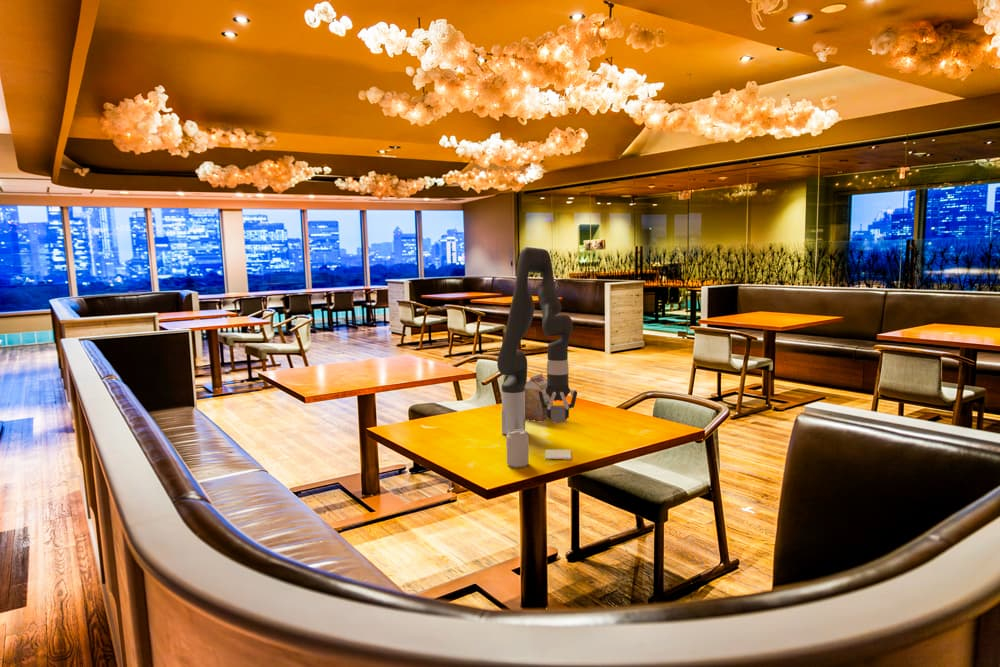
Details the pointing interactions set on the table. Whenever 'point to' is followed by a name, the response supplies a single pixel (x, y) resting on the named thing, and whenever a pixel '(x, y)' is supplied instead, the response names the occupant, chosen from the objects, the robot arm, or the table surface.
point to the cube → (558, 414)
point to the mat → (558, 454)
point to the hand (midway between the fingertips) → (558, 419)
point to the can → (517, 448)
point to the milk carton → (535, 398)
